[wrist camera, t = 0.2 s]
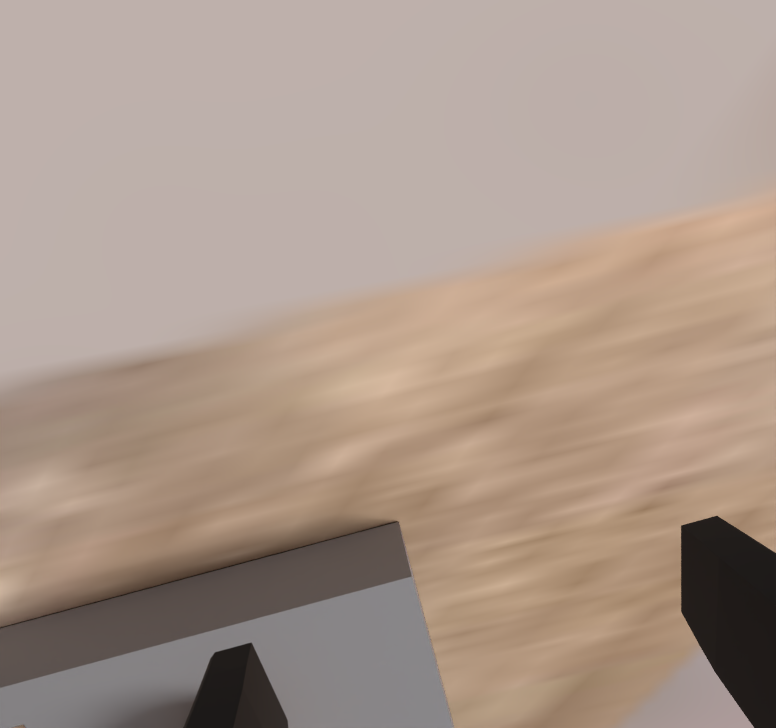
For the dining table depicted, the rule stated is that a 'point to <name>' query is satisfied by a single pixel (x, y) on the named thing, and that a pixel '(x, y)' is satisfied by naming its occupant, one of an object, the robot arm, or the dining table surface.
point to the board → (234, 628)
